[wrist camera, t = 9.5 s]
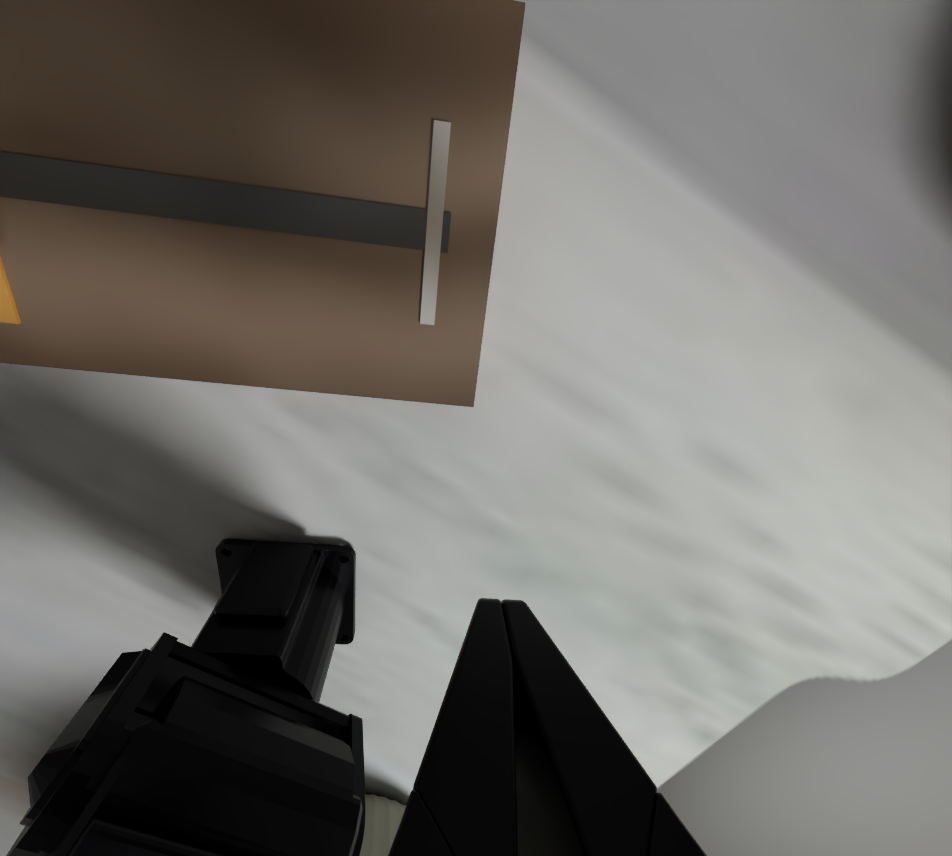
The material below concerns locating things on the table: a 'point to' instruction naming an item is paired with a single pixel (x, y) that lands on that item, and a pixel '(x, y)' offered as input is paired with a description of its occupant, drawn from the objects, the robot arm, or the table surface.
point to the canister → (380, 825)
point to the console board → (255, 189)
